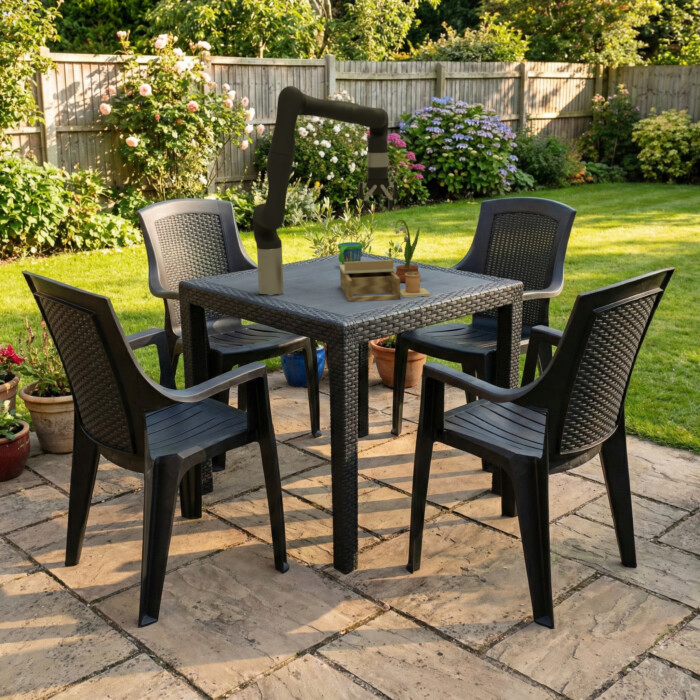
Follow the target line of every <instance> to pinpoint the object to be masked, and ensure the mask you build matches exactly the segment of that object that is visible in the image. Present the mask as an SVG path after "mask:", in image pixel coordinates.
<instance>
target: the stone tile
mask: <svg viewBox="0 0 700 700" xmlns="http://www.w3.org/2000/svg"><path fill="white" fill-rule="evenodd" d="M416 296H417V297H416ZM418 296H426V297H431V293H430V292H429V291H428V290H427V289H426V288H425V287H424V288H423V287H420V292H418V293H407V292H406V288H403V289H402V288H400V297H401V298H403V297H405V298H419V297H418Z"/></svg>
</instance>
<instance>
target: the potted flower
mask: <svg viewBox="0 0 700 700" xmlns="http://www.w3.org/2000/svg"><path fill="white" fill-rule="evenodd" d="M400 222H401V223H400ZM394 223H395V224H394ZM398 223H400V226H399V228H395V230H394V233H395V234H396V235H397V234H399V233H401V231H402V234H405V235H404V238H403V242H402V243H400V246H399V248H398V253H403V252H404V253H403V257H404V259H405V260H404V261H405V264H401V265H397V266H396V267H395V272H394V273H395V274H396V275H397V276H398V277H399V278H400V283H406V277H405V273H407V272H419V266H418V265H415V264H411V261H412V258H413V256H414V255H413V254H414V252H415V251H416V250H415V249H416V247H417V244H418V239H419V237H420V230H421V228H420V227H419V228H418V229H417V230H416V234H415V238H414V239H413V242H412V244H411V236H410V230H409V227H408V224H407V222H406V221H405V220H404V219H403V217H399V219H398V220H396V222H395V221H394V222H393V223H391V224H390V227H391V228H394V227H397V225H398ZM403 243H405V247H404V251H403V248H402V245H403ZM419 273H420V272H419Z"/></svg>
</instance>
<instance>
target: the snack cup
mask: <svg viewBox="0 0 700 700" xmlns="http://www.w3.org/2000/svg"><path fill="white" fill-rule="evenodd" d="M337 247H338V250H339V254H338V261H339V262H340V263H341V265H344V262H356V261H361V259H362V258H363V247H364V243H362V242H355V241H347V242H342V243H341V242H340V243H338V244H337Z"/></svg>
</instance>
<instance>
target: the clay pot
mask: <svg viewBox="0 0 700 700" xmlns="http://www.w3.org/2000/svg"><path fill="white" fill-rule="evenodd" d="M421 275H422V273H420V272H407V273H405V277H406V282H405V289H406V292H407V293H418V292H420V288H421Z"/></svg>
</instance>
